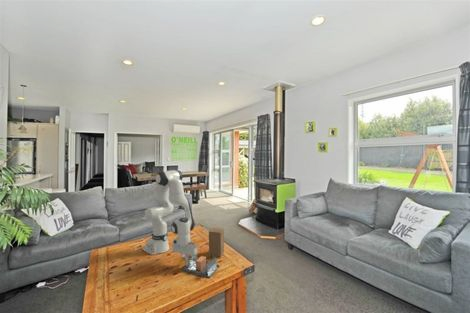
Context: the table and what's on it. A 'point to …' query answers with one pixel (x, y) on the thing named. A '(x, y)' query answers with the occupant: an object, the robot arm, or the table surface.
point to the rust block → (200, 263)
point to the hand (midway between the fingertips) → (184, 259)
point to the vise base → (207, 270)
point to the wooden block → (216, 242)
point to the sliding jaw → (191, 261)
